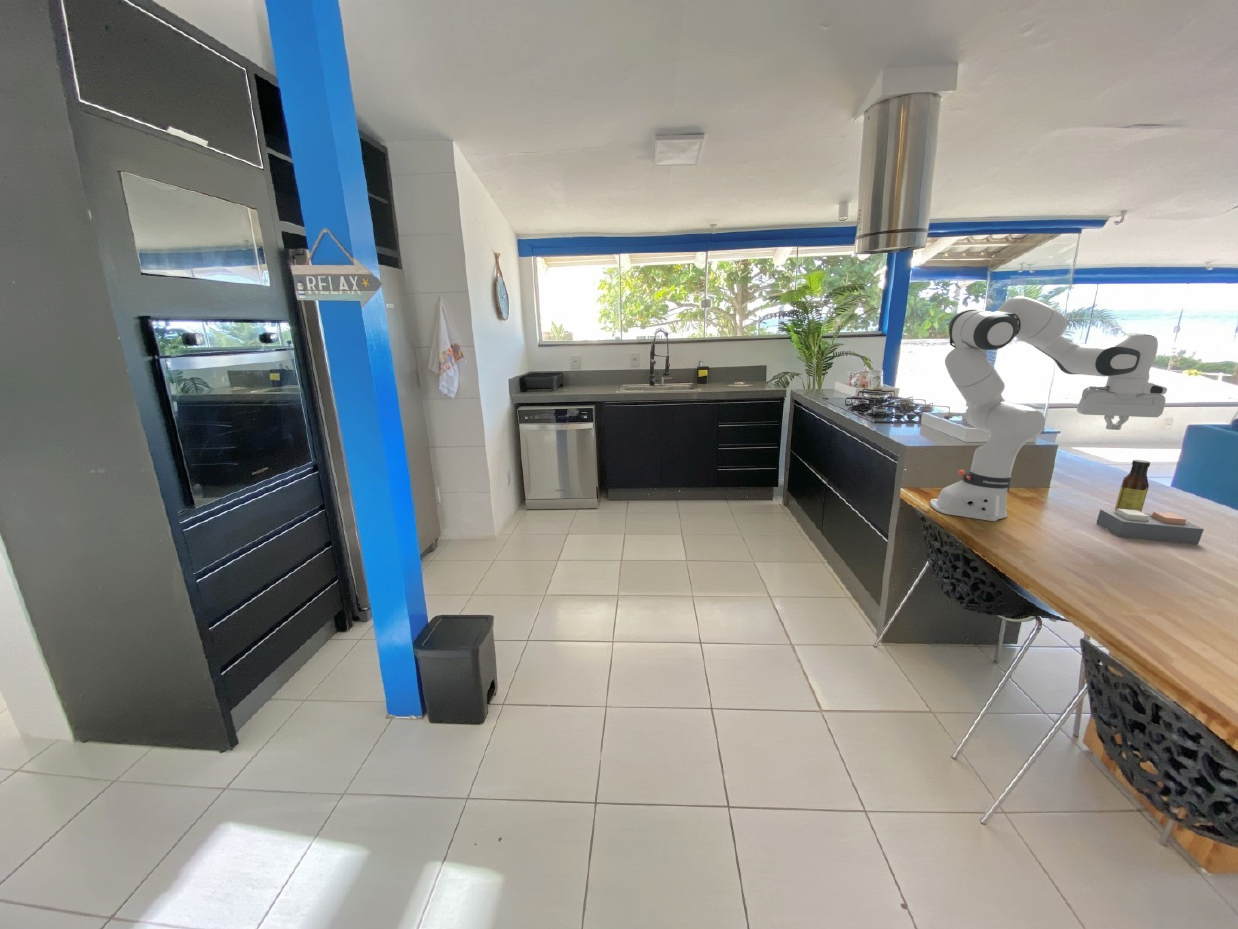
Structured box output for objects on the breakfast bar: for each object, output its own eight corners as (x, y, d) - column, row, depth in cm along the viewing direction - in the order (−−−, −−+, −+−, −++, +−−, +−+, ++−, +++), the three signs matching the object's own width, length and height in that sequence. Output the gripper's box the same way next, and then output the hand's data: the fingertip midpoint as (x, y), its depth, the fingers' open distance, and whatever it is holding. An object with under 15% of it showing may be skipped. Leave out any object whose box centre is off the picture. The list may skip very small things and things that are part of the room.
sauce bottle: (1144, 520, 158) (1163, 464, 152) (1122, 519, 159) (1140, 463, 154) (1128, 513, 164) (1145, 459, 159) (1107, 512, 165) (1124, 458, 160)
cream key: (1124, 526, 147) (1128, 514, 146) (1113, 520, 152) (1117, 508, 151) (1144, 527, 146) (1148, 516, 145) (1133, 521, 150) (1137, 510, 149)
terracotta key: (1161, 529, 144) (1165, 517, 143) (1149, 523, 149) (1153, 511, 148) (1182, 531, 143) (1186, 519, 142) (1169, 525, 148) (1173, 513, 146)
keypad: (1118, 536, 146) (1123, 521, 144) (1096, 523, 156) (1100, 509, 154) (1198, 544, 140) (1203, 529, 139) (1169, 530, 150) (1174, 515, 149)
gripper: (1090, 386, 148) (1079, 429, 152) (1174, 388, 142) (1160, 433, 146) (1078, 384, 154) (1067, 425, 157) (1158, 386, 148) (1145, 429, 151)
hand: (1112, 429), depth 151 cm, fingers closed
